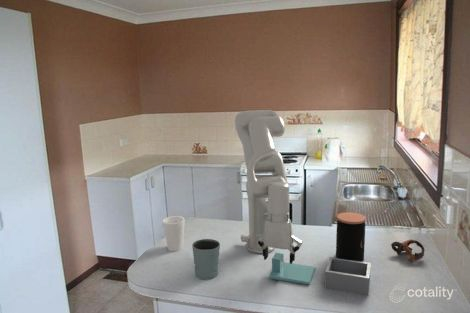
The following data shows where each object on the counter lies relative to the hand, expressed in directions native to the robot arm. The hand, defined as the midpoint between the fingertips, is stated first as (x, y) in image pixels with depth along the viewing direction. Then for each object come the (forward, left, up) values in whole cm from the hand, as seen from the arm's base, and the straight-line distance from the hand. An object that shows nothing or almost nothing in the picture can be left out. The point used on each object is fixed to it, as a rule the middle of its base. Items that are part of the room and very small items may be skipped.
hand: (278, 260), depth 139 cm
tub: (+25, 0, -6) cm, 25 cm away
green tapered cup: (-25, -8, -6) cm, 27 cm away
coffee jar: (+24, +20, -6) cm, 31 cm away
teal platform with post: (+5, 0, -6) cm, 8 cm away
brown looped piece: (+45, +29, -6) cm, 54 cm away
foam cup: (-48, +8, -6) cm, 49 cm away
